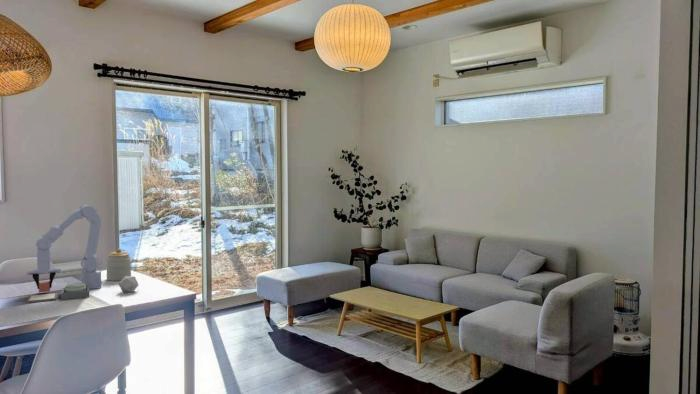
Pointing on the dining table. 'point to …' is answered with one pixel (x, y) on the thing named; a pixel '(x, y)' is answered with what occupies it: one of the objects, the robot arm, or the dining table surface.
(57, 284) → the dining table surface
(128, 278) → the die
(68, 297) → the grey square tray
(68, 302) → the dining table surface
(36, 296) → the board
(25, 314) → the dining table surface
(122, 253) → the jar
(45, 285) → the small die
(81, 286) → the dome
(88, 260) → the robot arm
